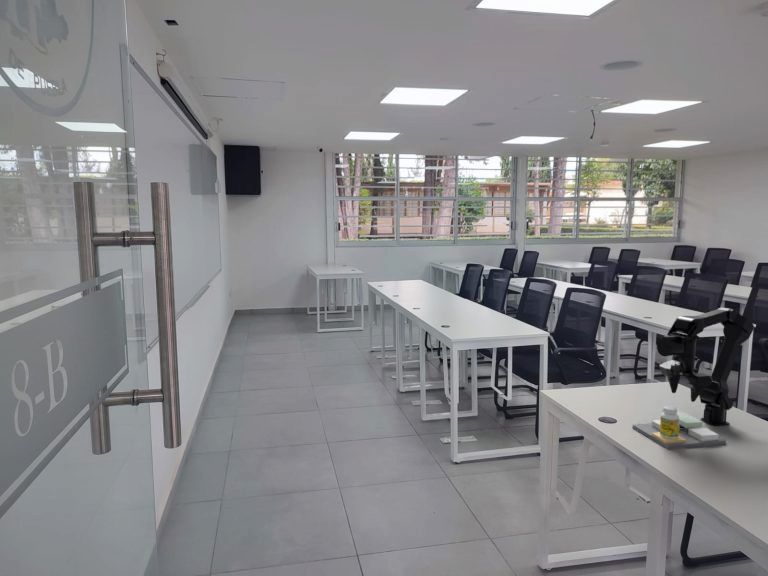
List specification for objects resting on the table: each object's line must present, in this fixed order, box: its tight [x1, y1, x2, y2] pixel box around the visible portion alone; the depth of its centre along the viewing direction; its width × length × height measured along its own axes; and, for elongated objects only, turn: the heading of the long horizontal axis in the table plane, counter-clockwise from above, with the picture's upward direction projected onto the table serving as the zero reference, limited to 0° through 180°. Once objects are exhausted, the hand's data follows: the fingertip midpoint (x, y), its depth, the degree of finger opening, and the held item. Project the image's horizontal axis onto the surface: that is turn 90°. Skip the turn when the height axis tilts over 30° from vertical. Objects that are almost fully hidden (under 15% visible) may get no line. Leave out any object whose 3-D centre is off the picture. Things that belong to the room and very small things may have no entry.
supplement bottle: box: [660, 405, 679, 439], centre depth 172 cm, size 5×5×10 cm
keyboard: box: [632, 419, 727, 450], centre depth 178 cm, size 21×18×3 cm
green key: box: [661, 409, 704, 428], centre depth 183 cm, size 6×12×3 cm, turn 9°
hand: (683, 397), depth 182 cm, fingers open, 9 cm apart
